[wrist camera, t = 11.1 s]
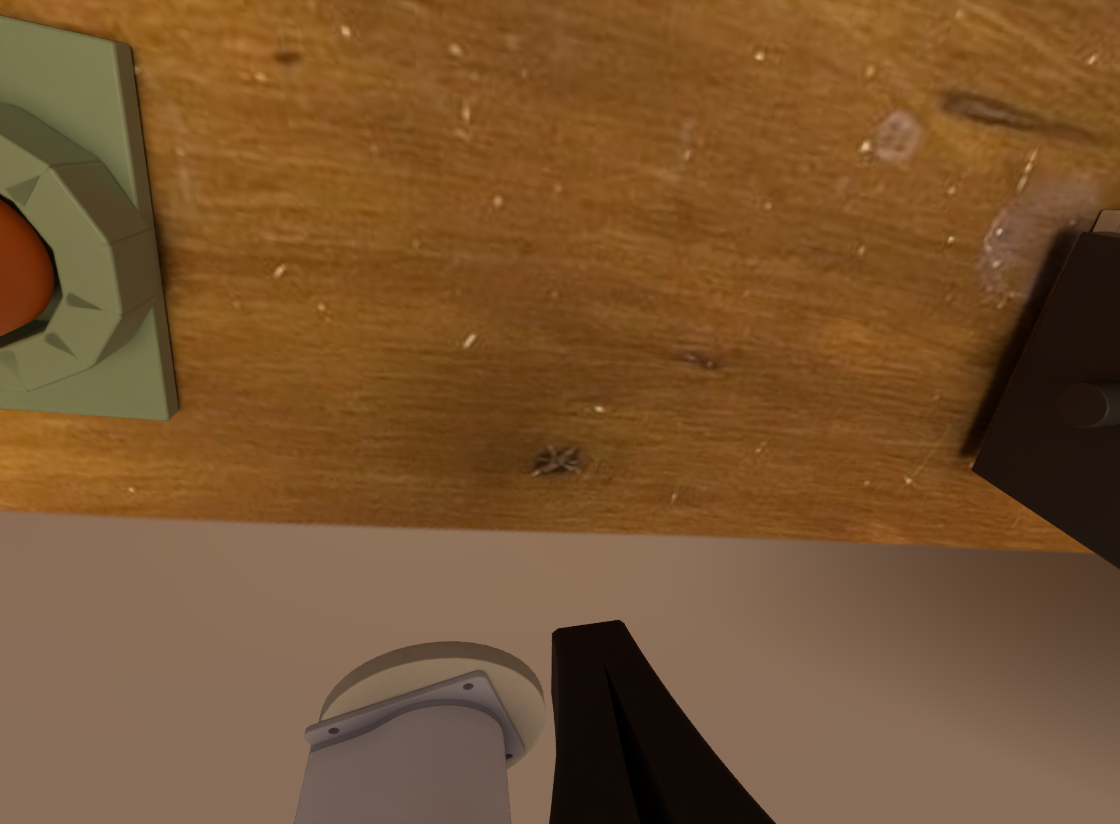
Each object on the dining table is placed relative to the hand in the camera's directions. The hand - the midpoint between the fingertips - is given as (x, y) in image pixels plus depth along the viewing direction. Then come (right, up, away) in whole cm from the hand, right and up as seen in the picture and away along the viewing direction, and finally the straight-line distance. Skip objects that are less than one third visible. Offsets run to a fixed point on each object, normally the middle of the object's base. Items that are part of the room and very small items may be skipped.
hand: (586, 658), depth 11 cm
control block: (-15, +10, +4) cm, 18 cm away
